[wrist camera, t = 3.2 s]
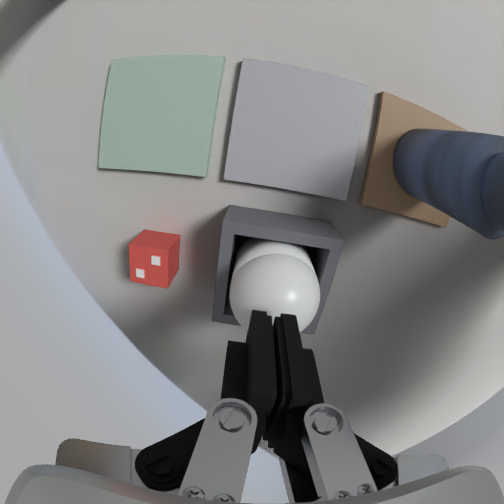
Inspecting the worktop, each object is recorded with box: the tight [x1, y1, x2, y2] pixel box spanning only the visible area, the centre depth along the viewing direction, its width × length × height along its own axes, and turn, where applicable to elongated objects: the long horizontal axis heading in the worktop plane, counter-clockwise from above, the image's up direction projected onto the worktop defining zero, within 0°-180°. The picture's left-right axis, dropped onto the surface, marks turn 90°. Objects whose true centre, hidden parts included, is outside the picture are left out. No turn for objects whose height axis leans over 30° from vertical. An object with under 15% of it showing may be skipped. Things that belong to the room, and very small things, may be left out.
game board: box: [98, 55, 468, 334], centre depth 14 cm, size 23×14×3 cm, turn 81°
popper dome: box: [229, 237, 320, 332], centre depth 14 cm, size 4×4×5 cm
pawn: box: [393, 128, 504, 239], centre depth 9 cm, size 4×4×9 cm
